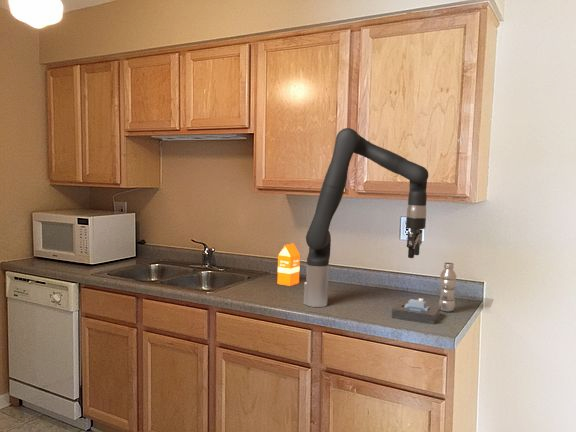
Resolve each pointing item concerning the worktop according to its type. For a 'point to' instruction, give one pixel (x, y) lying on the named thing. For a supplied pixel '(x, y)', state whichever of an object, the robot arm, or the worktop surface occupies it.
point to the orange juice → (288, 265)
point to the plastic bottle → (447, 288)
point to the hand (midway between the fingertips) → (413, 256)
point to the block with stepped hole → (416, 313)
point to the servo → (417, 305)
